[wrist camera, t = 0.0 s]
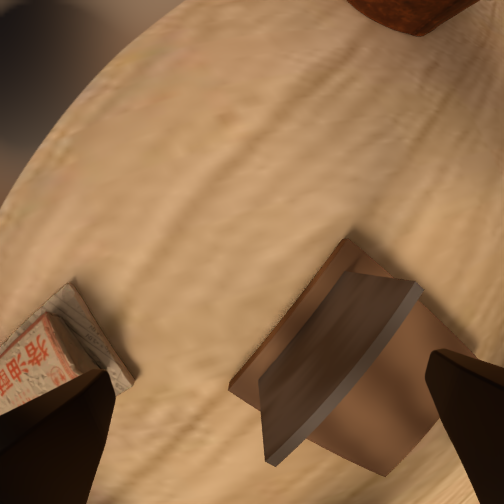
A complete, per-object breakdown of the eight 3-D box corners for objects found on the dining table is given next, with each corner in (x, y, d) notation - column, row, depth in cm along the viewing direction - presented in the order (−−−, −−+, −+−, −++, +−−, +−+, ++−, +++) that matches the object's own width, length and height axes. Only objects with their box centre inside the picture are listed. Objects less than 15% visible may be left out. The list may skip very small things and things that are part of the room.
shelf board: (379, 468, 23) (427, 542, 11) (229, 382, 23) (216, 474, 11) (470, 356, 23) (553, 392, 12) (342, 239, 23) (420, 225, 12)
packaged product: (12, 459, 18) (-42, 376, 18) (34, 440, 23) (-14, 365, 23) (119, 403, 18) (42, 284, 18) (140, 379, 23) (75, 280, 23)
